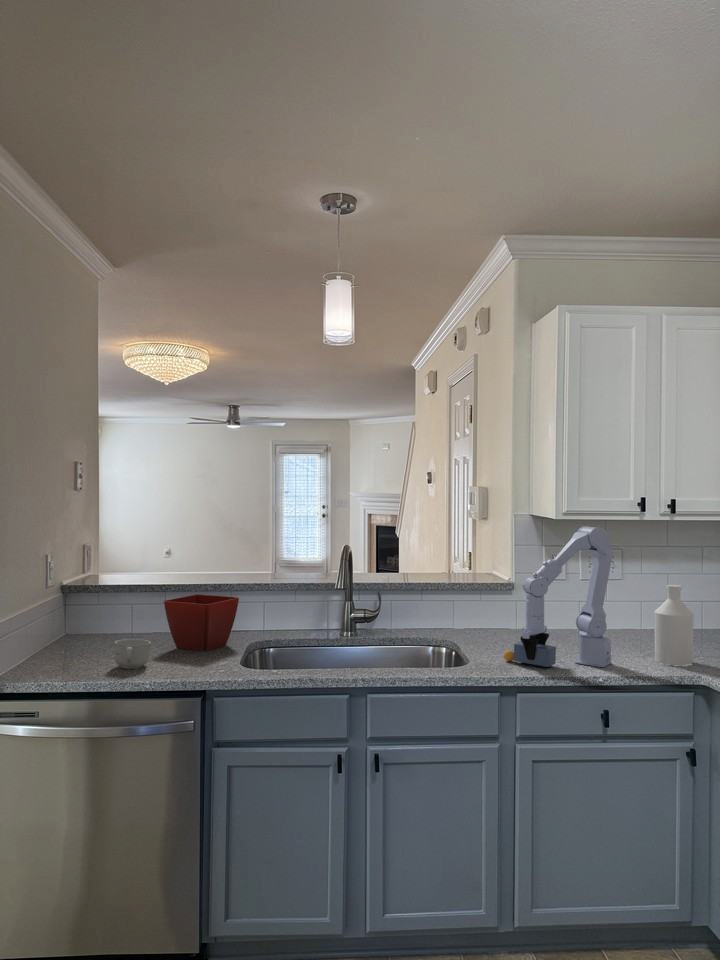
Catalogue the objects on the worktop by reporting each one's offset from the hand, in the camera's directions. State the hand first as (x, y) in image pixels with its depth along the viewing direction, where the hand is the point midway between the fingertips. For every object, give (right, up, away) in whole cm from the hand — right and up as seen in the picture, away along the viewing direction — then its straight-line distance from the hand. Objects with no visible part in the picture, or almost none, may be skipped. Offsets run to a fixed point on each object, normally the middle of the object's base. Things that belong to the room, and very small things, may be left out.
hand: (534, 657), depth 239 cm
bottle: (+47, -3, +5) cm, 47 cm away
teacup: (-127, -2, -7) cm, 127 cm away
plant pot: (-111, -2, +24) cm, 114 cm away
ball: (-7, -1, +5) cm, 9 cm away
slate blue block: (0, -1, 0) cm, 1 cm away
